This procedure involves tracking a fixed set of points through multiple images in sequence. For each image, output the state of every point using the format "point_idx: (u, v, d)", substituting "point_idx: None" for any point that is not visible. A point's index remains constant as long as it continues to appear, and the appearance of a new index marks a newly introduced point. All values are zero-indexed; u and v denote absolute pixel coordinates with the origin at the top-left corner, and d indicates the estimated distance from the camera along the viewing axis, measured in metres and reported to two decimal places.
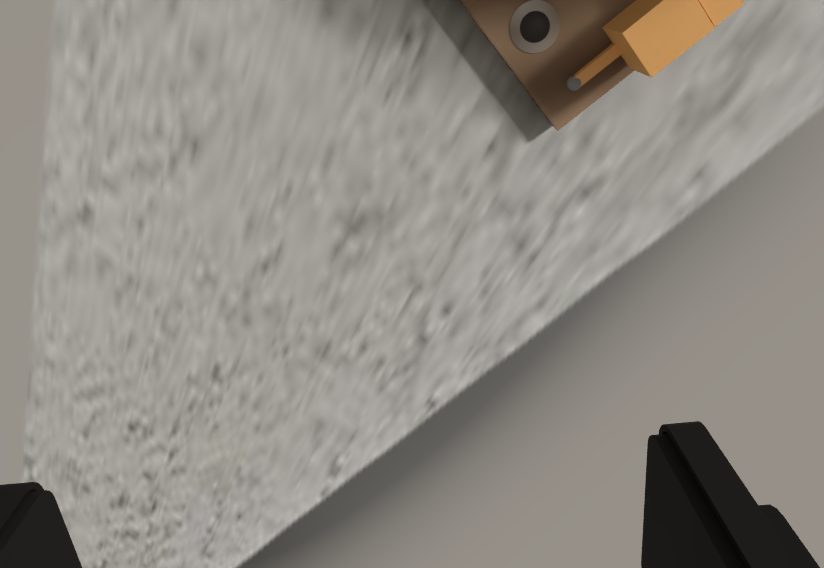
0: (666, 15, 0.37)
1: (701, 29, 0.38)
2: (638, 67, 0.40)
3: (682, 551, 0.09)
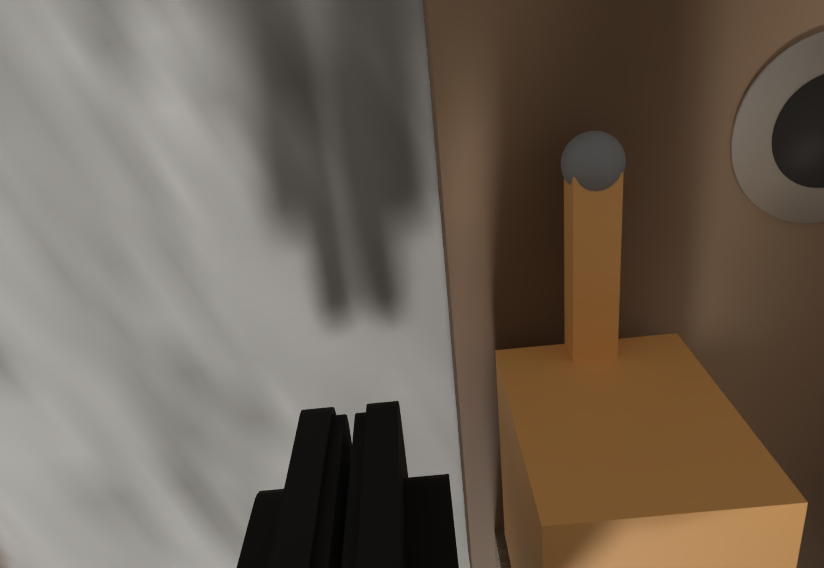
0: None
1: None
2: (552, 438, 0.09)
3: None
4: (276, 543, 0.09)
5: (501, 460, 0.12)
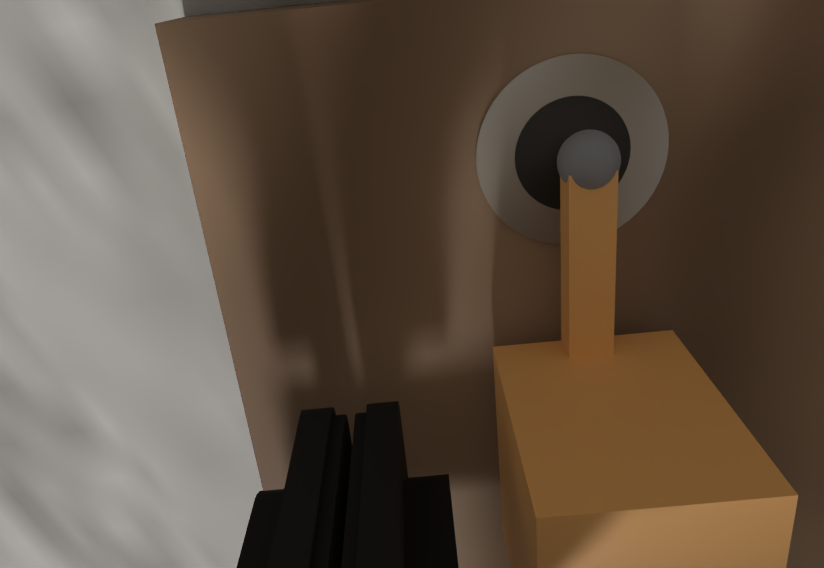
0: None
1: None
2: (547, 433, 0.09)
3: None
4: (276, 543, 0.09)
5: (499, 456, 0.13)
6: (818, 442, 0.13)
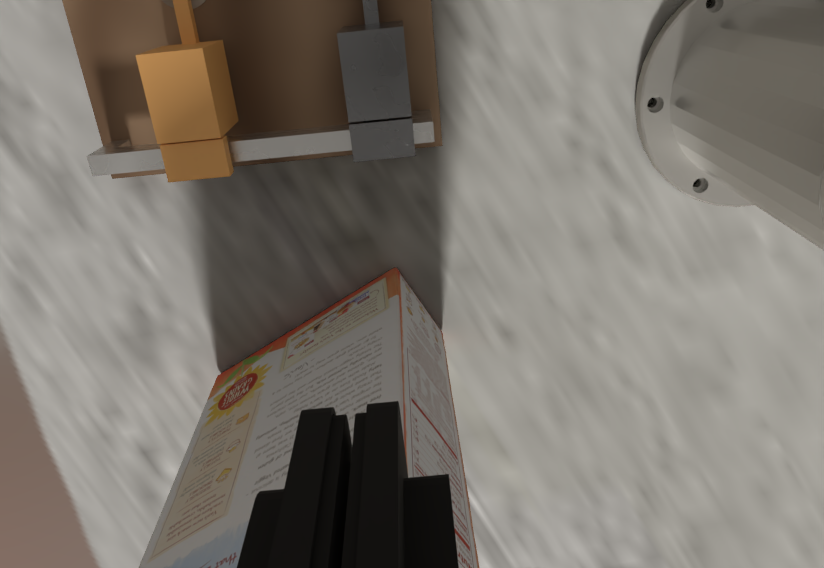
0: (196, 103, 0.32)
1: (162, 130, 0.32)
2: (155, 50, 0.32)
3: None
4: (276, 543, 0.09)
5: None
6: (298, 95, 0.36)
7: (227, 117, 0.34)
